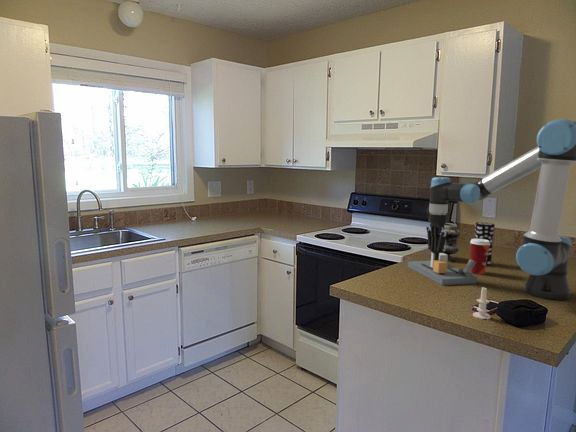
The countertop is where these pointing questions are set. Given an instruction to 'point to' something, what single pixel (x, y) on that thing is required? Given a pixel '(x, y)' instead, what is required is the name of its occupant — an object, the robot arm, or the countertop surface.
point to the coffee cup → (479, 255)
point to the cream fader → (443, 257)
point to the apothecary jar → (451, 240)
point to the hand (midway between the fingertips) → (434, 266)
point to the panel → (447, 278)
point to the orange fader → (440, 266)
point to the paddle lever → (469, 266)
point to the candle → (482, 306)
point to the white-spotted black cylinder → (485, 236)
